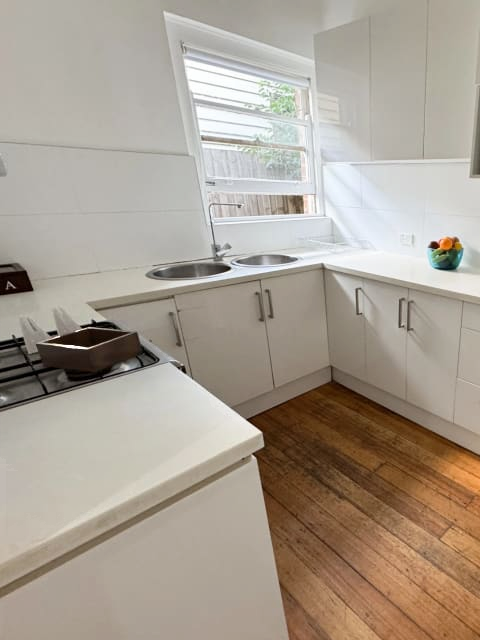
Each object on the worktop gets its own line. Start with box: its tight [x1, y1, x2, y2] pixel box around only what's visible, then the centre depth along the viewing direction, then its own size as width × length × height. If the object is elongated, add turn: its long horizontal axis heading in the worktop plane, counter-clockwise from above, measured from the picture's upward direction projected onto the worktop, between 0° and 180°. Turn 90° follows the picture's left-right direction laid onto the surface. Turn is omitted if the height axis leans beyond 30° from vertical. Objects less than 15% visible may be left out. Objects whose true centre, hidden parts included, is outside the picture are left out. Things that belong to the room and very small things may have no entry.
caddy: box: [35, 326, 144, 373], centre depth 94 cm, size 13×16×6 cm
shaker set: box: [18, 305, 83, 355], centre depth 100 cm, size 12×4×11 cm, turn 126°
